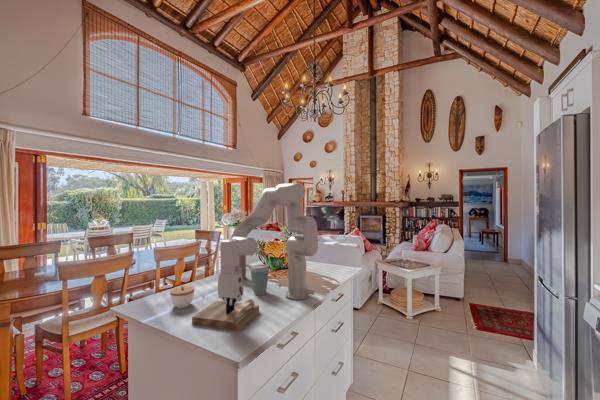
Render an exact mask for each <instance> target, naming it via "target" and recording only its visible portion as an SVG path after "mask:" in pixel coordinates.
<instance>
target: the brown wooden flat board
mask: <svg viewBox="0 0 600 400" xmlns="http://www.w3.org/2000/svg"><path fill="white" fill-rule="evenodd" d="M241 304H243V302H242V303H241V302H236V303H235V304H234V309H236V308H237V307H239V306H240V305H241ZM259 313H260V305H258V304H257V305H256V304H254V306H253V307H252V308H251V309H250V310H248V311H247V312H246V313H245V314H243V315H242V316H241V317H240V318H238V319H237V320H236V321H235V322H227V314H226V305H225V302H224V300H216V301H214V302H212V303H211V304H210V305H208V306H206V307H205V308H203V309H201V310H200V311H198V312H197V313H196V314H194V315H192V316H191V324H192V325H196V324H197V326H203V327H212V328H218V329H225V330H232V331H241V330H243V329H244V328H245V326H247V325H248V324H249V322H250V321H252V320H253V319H254V318H255V317H256V316H257V315H258V314H259Z"/></svg>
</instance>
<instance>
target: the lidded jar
mask: <svg viewBox="0 0 600 400" xmlns="http://www.w3.org/2000/svg"><path fill="white" fill-rule="evenodd" d="M169 292H170V301H171V304H172V305H173V306H174V307H175V308H176V307H177V308H176V309H185V308H187V307H189V306H190V305H191V303H192V302H193V300H194V298H195V297H194V296H195V287H193V286H191V285H190V286H189V285H188V286H184V285H183V286H182V285H181V286H178V287H175V288H172V289H171V290H170V291H169Z"/></svg>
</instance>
